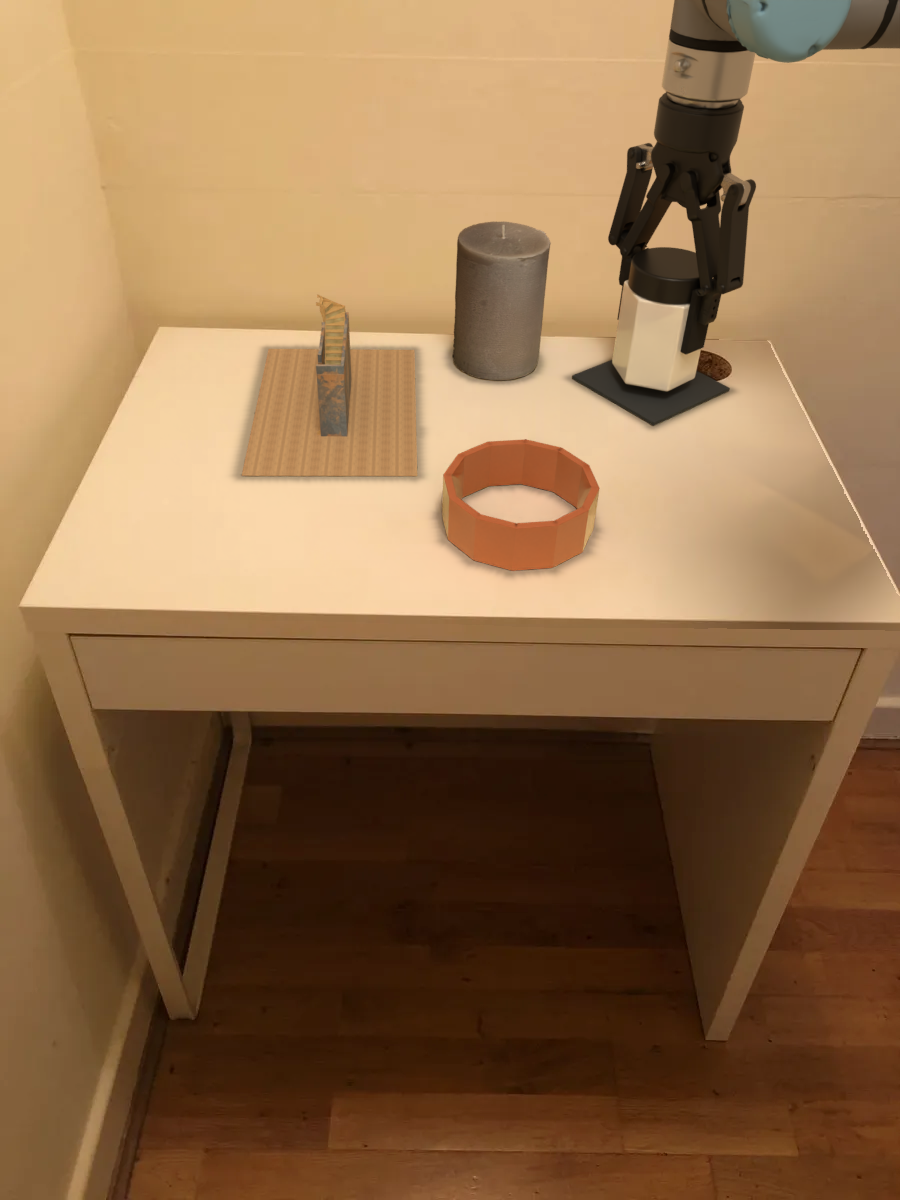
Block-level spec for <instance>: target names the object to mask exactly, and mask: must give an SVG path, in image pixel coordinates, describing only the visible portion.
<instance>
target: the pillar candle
mask: <svg viewBox="0 0 900 1200" xmlns="http://www.w3.org/2000/svg"><path fill="white" fill-rule="evenodd" d="M551 244H552V242H551V240H550V238H549V237H548V235H547V233H546V232H545V231H543V230H542V229H537V228H535V227H534V226H533V227H532V226H530V225H527V224H522V223H519V222H513V221H512V222H511V221H485V222H478V223H475V224H472V225H469V226H467V227H465V228H463V229H462V230H461V231H460V232H459V234H458V235H457V241H456V264H455V265H456V266H455V270H456V271H455V292H454V305H455V307H454V323H453V351H452V356H451V357H452V359H453V364H454V366H456V367H457V369H459V370H460V371H461V372H463V373H466V374H468V375H469V376H471V377H474V378H478V379H481V380H489V381H507V380H508V381H510V380H514V379H520V378H523V377H526V376H528V375H529V374H532V372H533V371H535V369H536V367H537V366H538V362H539V359H540V349H541V348H540V347H541V339H542V329H543V320H544V307H545V297H546V289H547V288H546V287H547V279H548V277H547V276H548V267H549V258H550V250H551Z"/></svg>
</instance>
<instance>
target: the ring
mask: <svg viewBox="0 0 900 1200" xmlns="http://www.w3.org/2000/svg"><path fill="white" fill-rule="evenodd" d="M442 475H443V476H442V503H441V504H442V507H441V510H442V511H441V517H442V521H443V525H444V529H445V534H446V537H447V541H449V542H450V543H451V544H452V545H454V546H455V547H456V548H457V549H458V550H460V551H461V552H463V553H464V554H465V555H466V556H468V557H469V558H470V559H471V560H472V561H475V562H478V563H483V564H486V565H489V566H494V567H497V568H500V569H504V570H509V571H512V572H514V571H524V570H539V569H552V568H553V569H554V568H556V567H558V566H559V565H561V564H562V563H564V562H566V561H568V560H570V559H572V558H574V557H576V556H578V555H580V554H582V553H583V552H584V549H585V547H586V546H587V543H588V542H589V539H590V537H591V535H592V533H593V531H594V527H595V521H596V514H597V507H598V501H599V496H600V495H599V494H600V490H601V489H600V486H599V484H598V481H597V479H596V477H595V474H594V472H593V470H592V469H591V466H590V465H589V464H588V463H587V462H585V461H583V460H582V459H580V458H579V457H577V456H576V455H575V454H573V453H571V452H570V451H568V450H567V449H565V448H564V447H561V446H556V445H553V444H548V443H544V442H540V441H536V440H531V439H527V438H524V439H508V440H492V441H491V440H490V441H486V442H483V443H480V444H478V445H476V446H474V447H471V448H469V449H466V450H464V451H462V452H459V453H458V454H457V455H456V456H455V457H454V459H453V460H452V462H450V465H448V467H447V468H446V470H445V471H444V473H443V474H442ZM512 485H522V486H523V485H524V486H528V487H531V488H535V489H539V490H543V491H548V492H552V493H554V494H556V495H557V496H559V497H560V498H561V499H563V500H564V501H565V502H567V503H569V504H570V505H572V506H573V507H574V508H576V509H574V510H572V511H571V512H569V513H567V514H564V515H562V516H560V517H558V518H556V519H554V520H545V521H544V520H543V521H529V522H514V521H509V520H507V519H506V520H505V519H502V518H498V517H494V516H490V515H487V514H482V513H480V512H479V511H477V510H476V509H474V508H473V507H472V506H470V505H469V504H468V503H467V502H466V501H464V500H463V499H464V498H465V497H468V496H470V495H472V494H474V493H477V492H479V491H481V490H483V489H486V488H488V487H494V486H495V487H498V486H512Z"/></svg>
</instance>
